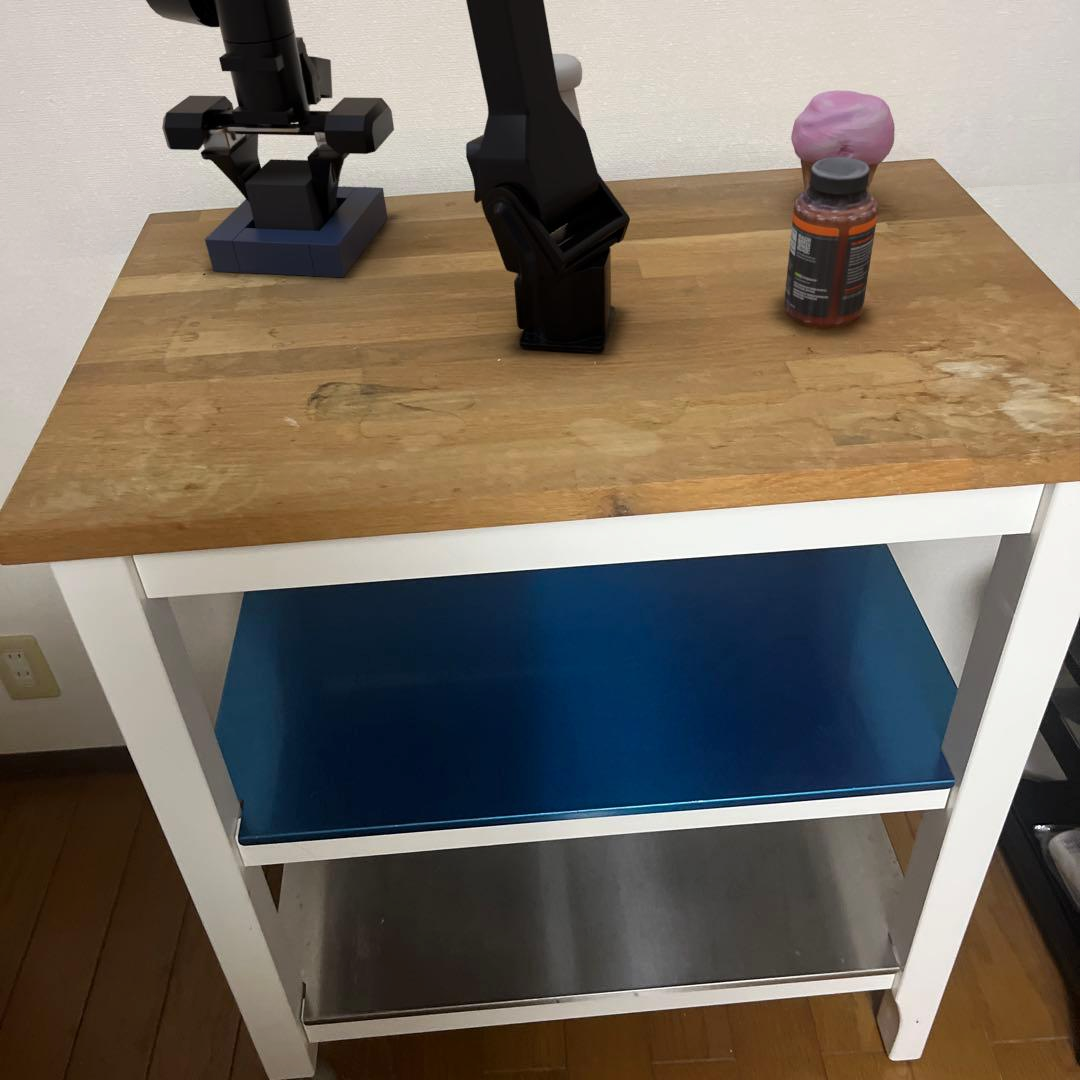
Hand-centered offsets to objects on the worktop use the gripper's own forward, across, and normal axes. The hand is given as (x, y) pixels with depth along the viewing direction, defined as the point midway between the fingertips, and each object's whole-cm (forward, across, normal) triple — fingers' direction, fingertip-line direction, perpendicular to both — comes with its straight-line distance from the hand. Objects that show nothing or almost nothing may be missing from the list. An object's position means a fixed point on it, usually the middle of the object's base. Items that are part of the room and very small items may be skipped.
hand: (298, 220), depth 92 cm
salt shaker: (+2, -22, -11) cm, 25 cm away
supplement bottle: (+2, -46, +8) cm, 47 cm away
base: (+2, 0, 0) cm, 2 cm away
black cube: (+2, 0, 0) cm, 2 cm away
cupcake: (+2, -47, -12) cm, 49 cm away
